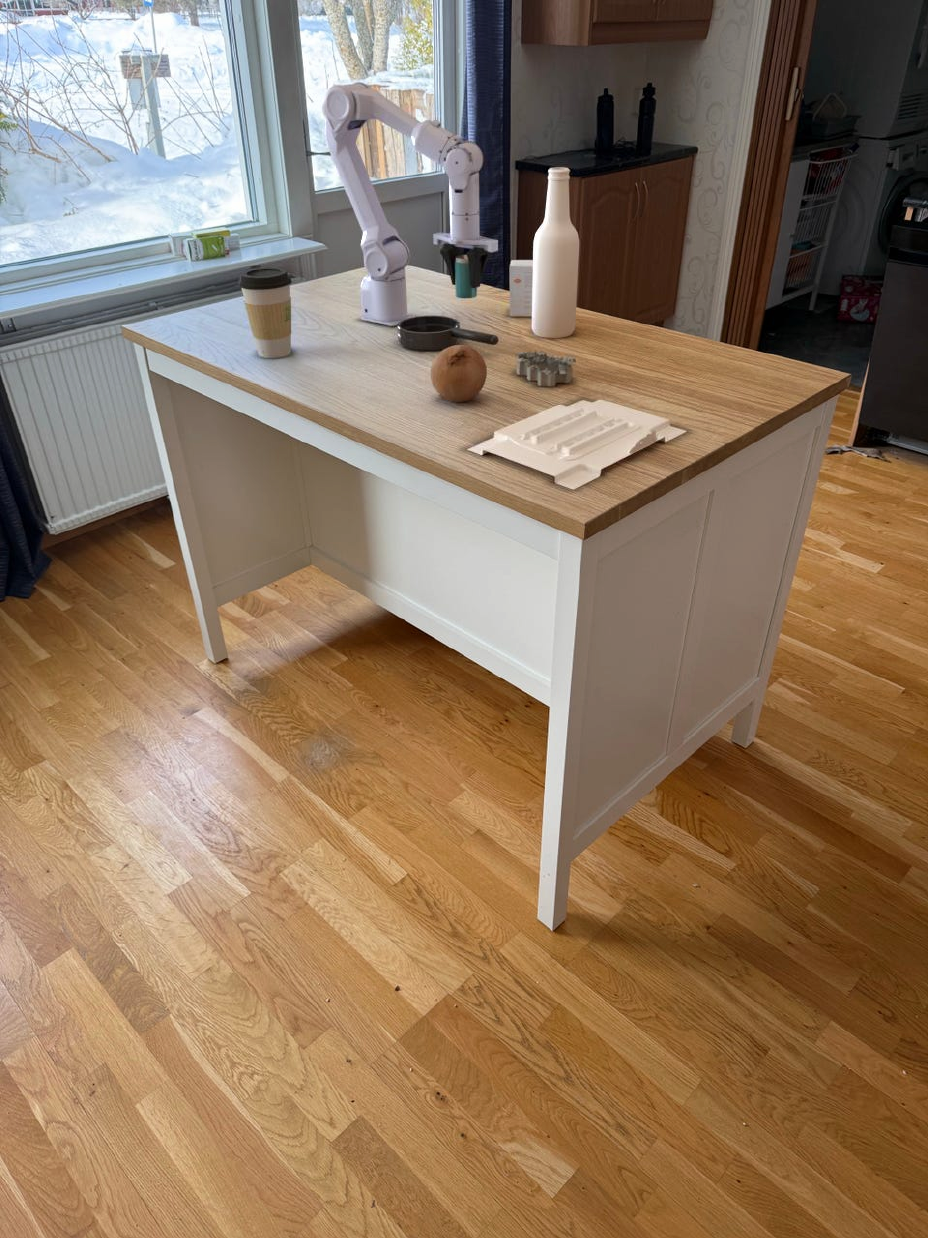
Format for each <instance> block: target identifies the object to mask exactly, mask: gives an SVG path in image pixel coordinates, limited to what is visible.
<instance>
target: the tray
mask: <svg viewBox="0 0 928 1238" xmlns="http://www.w3.org/2000/svg"><path fill="white" fill-rule="evenodd" d="M684 433H687V430H685V429H681V428H678V427H674V426H671V425H670V419H668V418H665V417H661V416H658V415H655V414H651V413H648V412H644V411H641V410H638V409H634V408H631V407H627V406H624V405H621V404H617V403H614V402H611V401H608V400H604V399H598V400H594V401H593V402H592V401H588V400H584V399H582V400H579V401H577V402H575V403H573V404H570V405H568V406H566V405H563V404H558V405H555V406H553V407H549V408H548V409H545V410H543V411H540V412H538V413H536V414H533V415H530V416H528V417H526V418H524V419H521V420H518V421H517V422H514V423H512V424H509V425H507V426H505V427H502V428H500V429H498V430H494V432H493V437H492V438H490V439H488V440H485V441H483V442H481V443H478V444H476V445H474V446H471V447H469V448H467V449H466V450H467V451H470V452H472V453H475V454H477V455H480V456H483V455H485V454H488V453H491V454H493V455H496V456H499V457H503V459H506V460H509V461H512V462H515V463H518V464H520V465H523V466H526V467H527V468H528V467H529V468H531V469H534V470H536V471H539V472H542V473H544V474H547V475H550V476H552V477H554V483H555V484H557V485H559V486H562V487H565V488H567V489H570V490H576V489H578V488H580V487H581V486H583V485H586V484H587V483H589V482H591V481H593V480H595V479H598V478H599V477H600V476H601V473H602V470H603V469H604V468H607V467H609V466H611V465H613V464H615V463H616V462H619V461H620V460H623V459H624V458H626V457H628V456H631V455H632V454H634V453H636V452H638V451H640V450H643V449H644V448H646V447H648V446H650V445H652V444H654V443H656V442H658V441H660V442H664V443H667V442H670V441H672V440H673V439H675V438H677V437H679V436H681V435H683V434H684Z"/></svg>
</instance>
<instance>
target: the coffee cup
mask: <svg viewBox="0 0 928 1238" xmlns="http://www.w3.org/2000/svg"><path fill="white" fill-rule="evenodd" d="M292 283H293V280H292V278H291V276H290V275H289V273H288V271H287V269H285V268H281V267H274V266H273V267H271V266H265V267H255V268H249V269H246V270H243V271H241V273H240V278H239V280H238V288H241V292H242V295H243V299H244V300H243V303H244V307H245V310H246V314H247V318H248V321H249V325H250V329H251V333H252V337H253V338H254V341H255V345H256V349H257V353H258V356H259V357H261V358H265V359H278V358H283V357H287V356H288V355H290V354H291V353H292V335H291V334H292V297H291V284H292Z"/></svg>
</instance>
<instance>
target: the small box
mask: <svg viewBox="0 0 928 1238" xmlns="http://www.w3.org/2000/svg"><path fill="white" fill-rule="evenodd" d="M532 291H533V259H512V260H510V264H509V317H511V318H513V317H518V318H519V317H520V318H522V317H524V318H525V317H527V318H528V317H529V318H530V317H531V318H532Z"/></svg>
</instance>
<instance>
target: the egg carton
mask: <svg viewBox="0 0 928 1238" xmlns="http://www.w3.org/2000/svg"><path fill="white" fill-rule="evenodd" d="M513 354H514V356H515V358H516V359H517V360H516V375H518V376H526V380H527V381H530V382H533V381H534V382H535V381H536V382H537V385H538V386H539V387H550V388H551V387H555V386H556V384H558V383H563V384H569V383H571V382H572V381H571V380H572V378H573V365H574V364H575V363H577V359H576V358H574V357H571V356H566V357H563V356H560V357H559V356H558V355H552V354H547V352H545V351H543V350H542V351H540V352H539V353H537V351H536V350H534V351H532V352H531V351H528V352H524V351H522V352H521V353H517V352H513Z"/></svg>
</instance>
